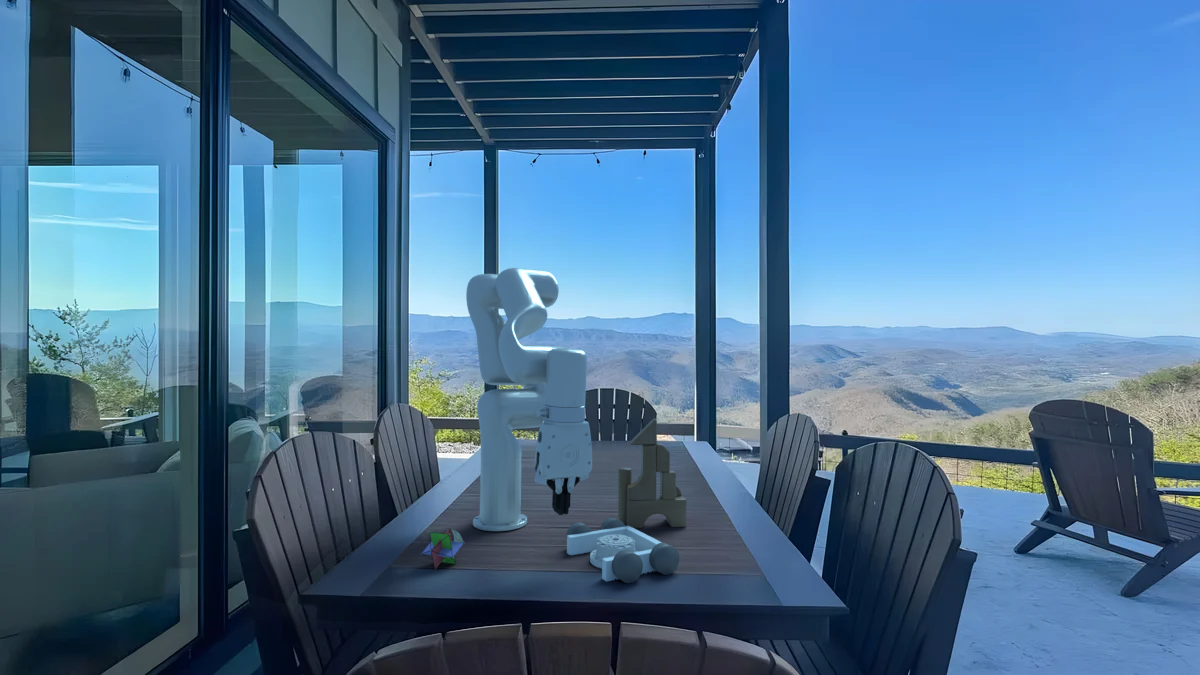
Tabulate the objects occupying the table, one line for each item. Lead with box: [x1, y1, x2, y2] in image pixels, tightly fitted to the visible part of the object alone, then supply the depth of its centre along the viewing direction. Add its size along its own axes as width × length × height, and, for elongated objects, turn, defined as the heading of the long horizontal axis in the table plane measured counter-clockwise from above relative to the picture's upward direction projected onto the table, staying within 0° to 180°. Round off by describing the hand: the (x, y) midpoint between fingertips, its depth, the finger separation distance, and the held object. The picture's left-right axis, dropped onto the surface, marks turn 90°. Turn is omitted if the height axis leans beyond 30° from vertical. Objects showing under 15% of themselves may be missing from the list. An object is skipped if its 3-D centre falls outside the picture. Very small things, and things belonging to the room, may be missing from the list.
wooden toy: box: [617, 418, 687, 529], centre depth 132 cm, size 16×7×25 cm, turn 95°
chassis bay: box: [565, 517, 680, 584], centre depth 107 cm, size 21×14×5 cm
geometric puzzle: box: [420, 527, 465, 570], centre depth 104 cm, size 7×7×8 cm
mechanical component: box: [589, 534, 638, 570], centre depth 106 cm, size 10×4×10 cm
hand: (560, 512), depth 103 cm, fingers closed
